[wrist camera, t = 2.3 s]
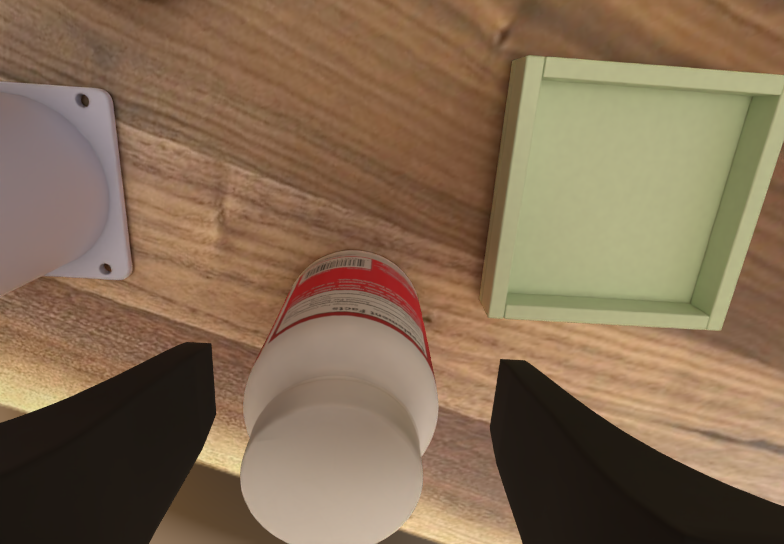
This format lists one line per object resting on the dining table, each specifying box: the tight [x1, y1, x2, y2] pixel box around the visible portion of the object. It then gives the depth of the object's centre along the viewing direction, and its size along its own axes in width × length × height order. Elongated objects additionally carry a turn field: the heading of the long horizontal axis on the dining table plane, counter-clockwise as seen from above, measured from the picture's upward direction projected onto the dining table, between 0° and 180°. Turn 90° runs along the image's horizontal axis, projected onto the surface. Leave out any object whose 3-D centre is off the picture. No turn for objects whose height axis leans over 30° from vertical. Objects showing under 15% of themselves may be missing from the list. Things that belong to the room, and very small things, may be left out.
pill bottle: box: [240, 250, 438, 544], centre depth 17 cm, size 6×6×11 cm
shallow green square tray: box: [479, 55, 784, 331], centre depth 20 cm, size 10×10×2 cm
